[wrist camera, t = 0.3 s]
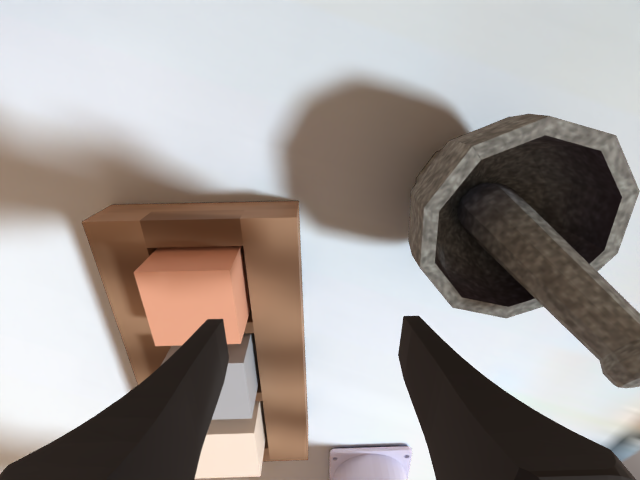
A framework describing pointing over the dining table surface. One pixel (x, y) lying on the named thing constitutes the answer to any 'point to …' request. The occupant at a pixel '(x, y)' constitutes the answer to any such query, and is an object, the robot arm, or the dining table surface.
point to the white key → (234, 447)
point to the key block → (263, 282)
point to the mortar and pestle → (532, 229)
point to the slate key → (236, 380)
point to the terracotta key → (194, 291)
